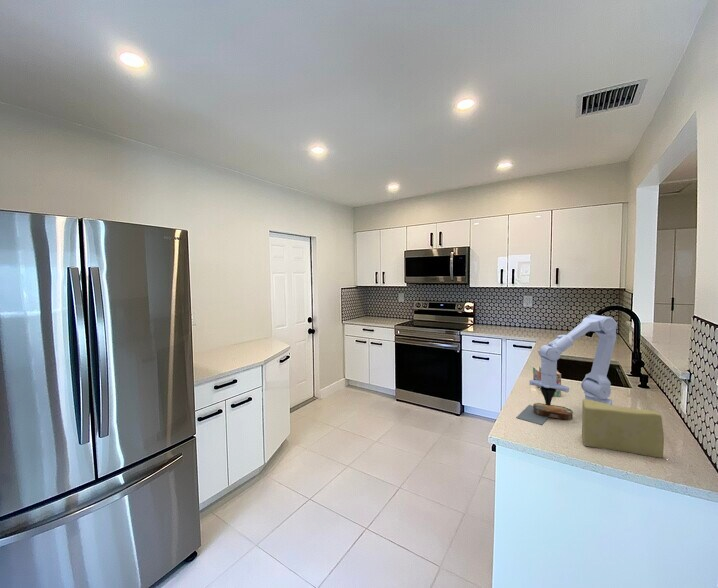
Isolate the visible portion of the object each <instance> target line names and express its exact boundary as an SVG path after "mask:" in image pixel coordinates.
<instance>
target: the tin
mask: <svg viewBox="0 0 718 588" xmlns="http://www.w3.org/2000/svg"><path fill="white" fill-rule="evenodd" d="M532 406H533V410H534V412H535V413H537V414H539V415H541V416H546V417H548V418H553V419H559V420H569V421H570V420H571V419H572V418H573V414H574V412H573V410H572V409H570V408H567V407H564V406H560V405H554V404H551V405H550V406H548V405H546V403H543V402H542V403H541V402H536V403H533V405H532Z"/></svg>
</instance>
